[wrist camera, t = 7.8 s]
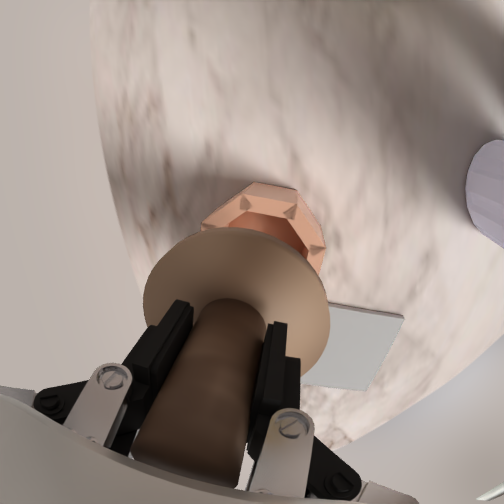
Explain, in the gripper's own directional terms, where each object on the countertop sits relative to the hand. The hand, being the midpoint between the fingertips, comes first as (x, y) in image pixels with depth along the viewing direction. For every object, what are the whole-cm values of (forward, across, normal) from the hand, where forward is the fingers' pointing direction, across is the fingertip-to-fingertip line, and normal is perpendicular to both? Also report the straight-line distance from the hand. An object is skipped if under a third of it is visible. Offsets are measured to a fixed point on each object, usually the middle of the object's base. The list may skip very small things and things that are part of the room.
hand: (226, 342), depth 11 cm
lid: (+2, 0, 0) cm, 2 cm away
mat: (+13, -9, +10) cm, 19 cm away
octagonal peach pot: (+13, 0, 0) cm, 13 cm away
